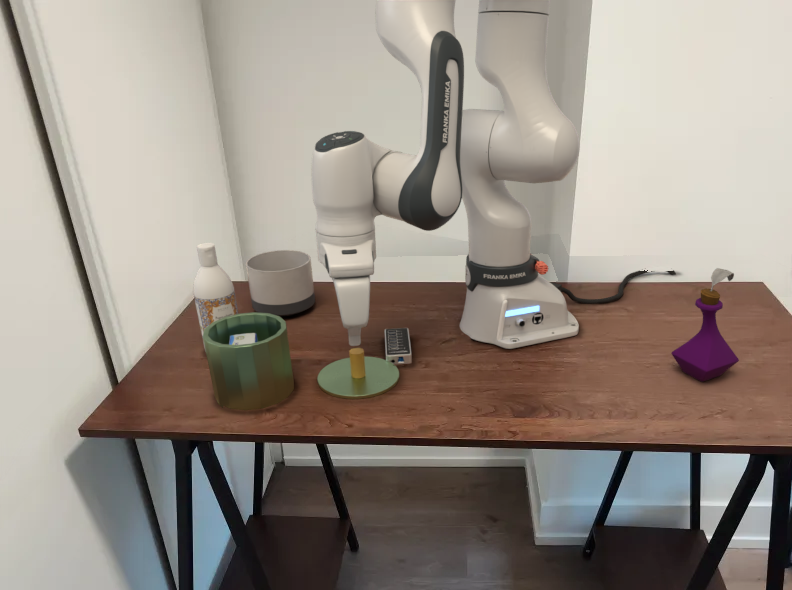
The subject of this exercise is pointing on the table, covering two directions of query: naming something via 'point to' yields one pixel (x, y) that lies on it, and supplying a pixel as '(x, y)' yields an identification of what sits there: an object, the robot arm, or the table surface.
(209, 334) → the tin
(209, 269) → the bath foam
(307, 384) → the table surface
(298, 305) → the planter
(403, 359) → the multiport hub
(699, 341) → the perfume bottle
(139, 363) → the table surface
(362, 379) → the tin lid
